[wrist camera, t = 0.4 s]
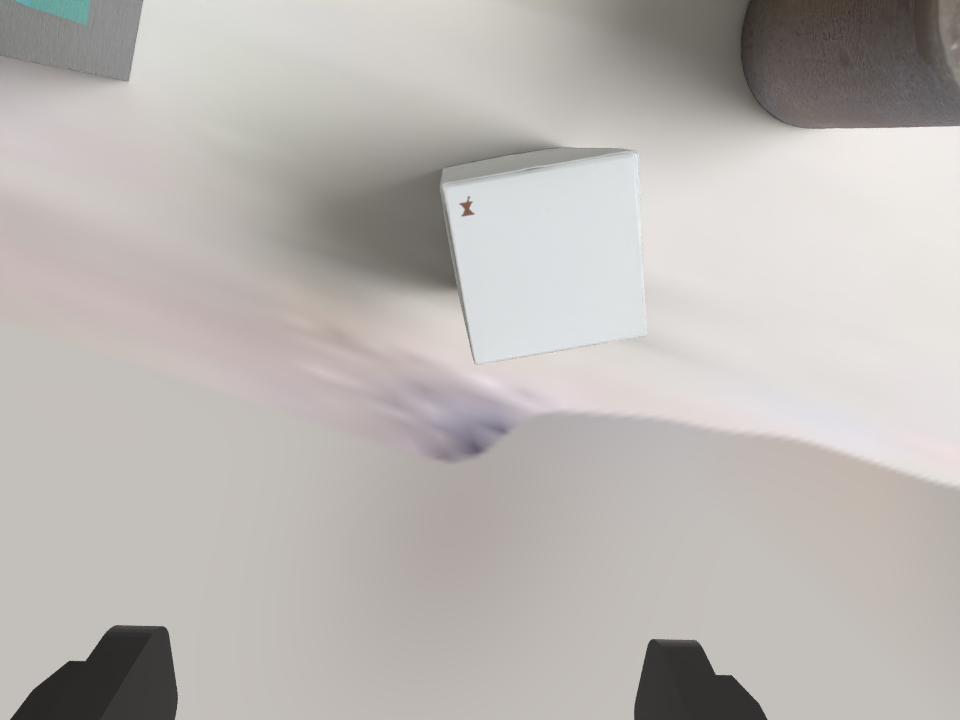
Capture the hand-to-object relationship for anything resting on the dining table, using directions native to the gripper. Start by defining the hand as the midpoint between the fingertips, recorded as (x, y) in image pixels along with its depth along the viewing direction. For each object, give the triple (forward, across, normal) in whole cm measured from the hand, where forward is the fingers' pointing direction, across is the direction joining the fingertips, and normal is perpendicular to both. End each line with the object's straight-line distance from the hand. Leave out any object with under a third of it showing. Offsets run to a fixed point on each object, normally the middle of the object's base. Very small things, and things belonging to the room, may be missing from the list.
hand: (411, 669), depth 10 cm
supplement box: (+27, -4, -4) cm, 28 cm away
